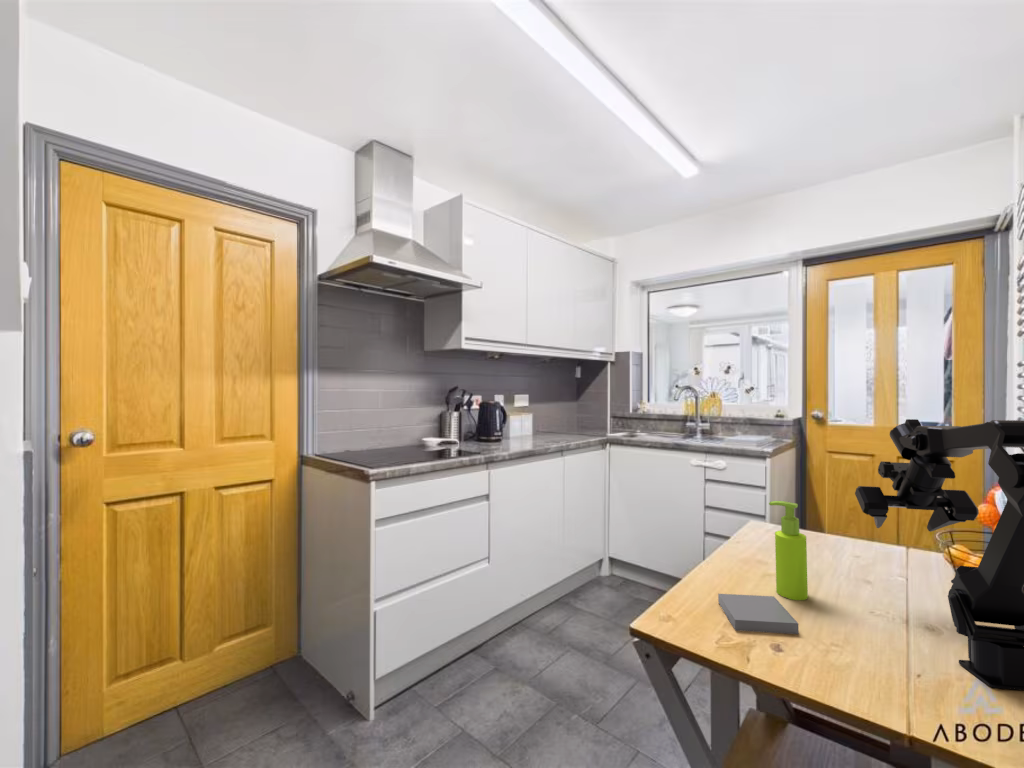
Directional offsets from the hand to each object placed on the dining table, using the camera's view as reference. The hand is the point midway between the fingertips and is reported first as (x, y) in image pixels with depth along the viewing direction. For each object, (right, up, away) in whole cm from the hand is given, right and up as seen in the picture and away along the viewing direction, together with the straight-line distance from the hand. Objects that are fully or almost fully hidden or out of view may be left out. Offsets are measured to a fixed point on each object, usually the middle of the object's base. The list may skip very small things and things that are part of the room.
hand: (902, 527), depth 99 cm
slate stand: (-36, -15, -8) cm, 40 cm away
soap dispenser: (-23, -15, +2) cm, 28 cm away
